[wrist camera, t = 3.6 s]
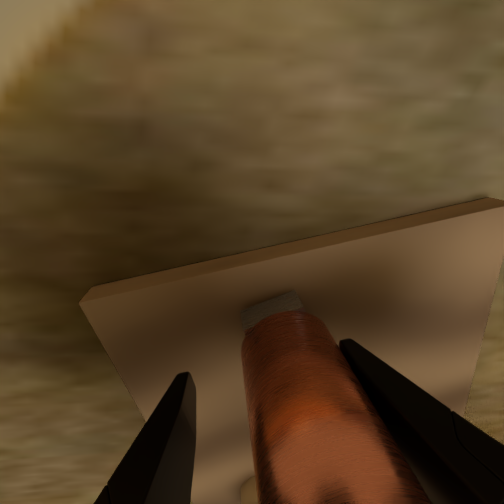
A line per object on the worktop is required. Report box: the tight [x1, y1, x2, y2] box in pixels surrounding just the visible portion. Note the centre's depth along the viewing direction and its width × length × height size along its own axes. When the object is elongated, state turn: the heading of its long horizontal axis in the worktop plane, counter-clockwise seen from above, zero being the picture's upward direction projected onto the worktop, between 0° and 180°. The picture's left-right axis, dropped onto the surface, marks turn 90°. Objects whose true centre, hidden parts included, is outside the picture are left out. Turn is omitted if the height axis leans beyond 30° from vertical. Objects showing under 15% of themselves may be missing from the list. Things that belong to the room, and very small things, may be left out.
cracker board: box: [79, 197, 504, 504], centre depth 14 cm, size 22×18×4 cm
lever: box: [240, 290, 432, 504], centre depth 10 cm, size 15×4×8 cm, turn 20°
